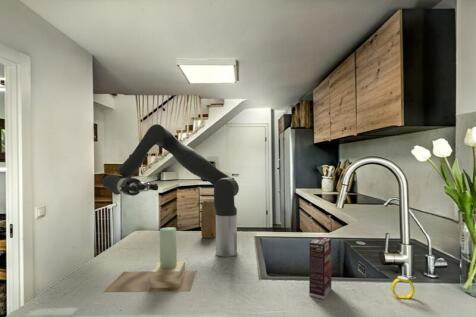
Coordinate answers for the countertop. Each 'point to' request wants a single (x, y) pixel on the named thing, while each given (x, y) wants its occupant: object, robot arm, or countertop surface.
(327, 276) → the supplement box
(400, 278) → the watch
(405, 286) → the countertop surface
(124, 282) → the walnut board
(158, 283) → the beech brick
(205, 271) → the countertop surface
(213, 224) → the block
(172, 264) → the sage cylinder
